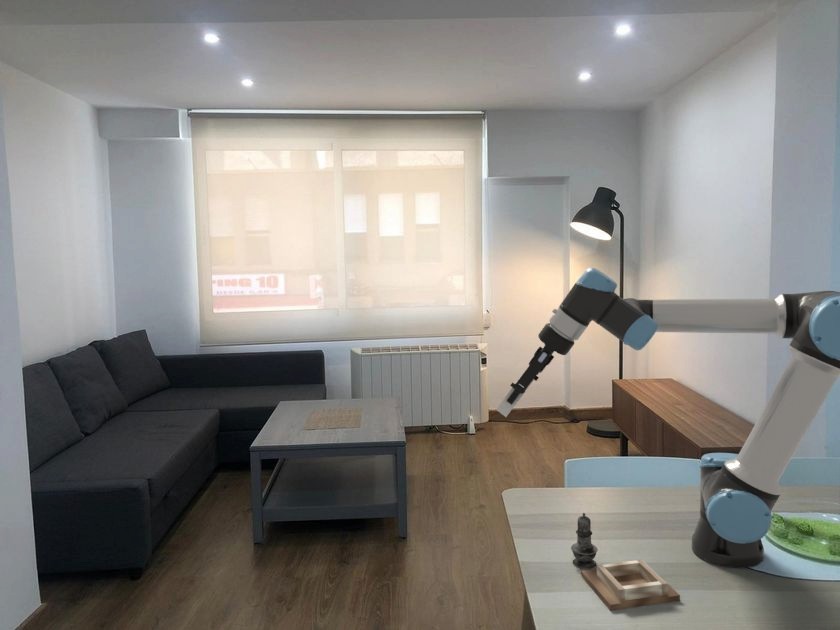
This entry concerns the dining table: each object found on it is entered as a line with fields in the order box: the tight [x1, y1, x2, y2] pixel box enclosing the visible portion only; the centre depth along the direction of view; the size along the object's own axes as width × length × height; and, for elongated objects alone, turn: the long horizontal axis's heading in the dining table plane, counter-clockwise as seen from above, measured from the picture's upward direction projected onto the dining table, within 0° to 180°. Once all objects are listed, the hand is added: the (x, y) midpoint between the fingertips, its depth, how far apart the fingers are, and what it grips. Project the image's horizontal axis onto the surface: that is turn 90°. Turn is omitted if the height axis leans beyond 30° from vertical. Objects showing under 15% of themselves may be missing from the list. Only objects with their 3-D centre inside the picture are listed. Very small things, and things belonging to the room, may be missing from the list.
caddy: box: [580, 559, 681, 612], centre depth 140 cm, size 15×14×4 cm
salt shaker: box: [570, 512, 599, 570], centre depth 151 cm, size 6×6×12 cm
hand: (507, 405), depth 153 cm, fingers open, 13 cm apart
